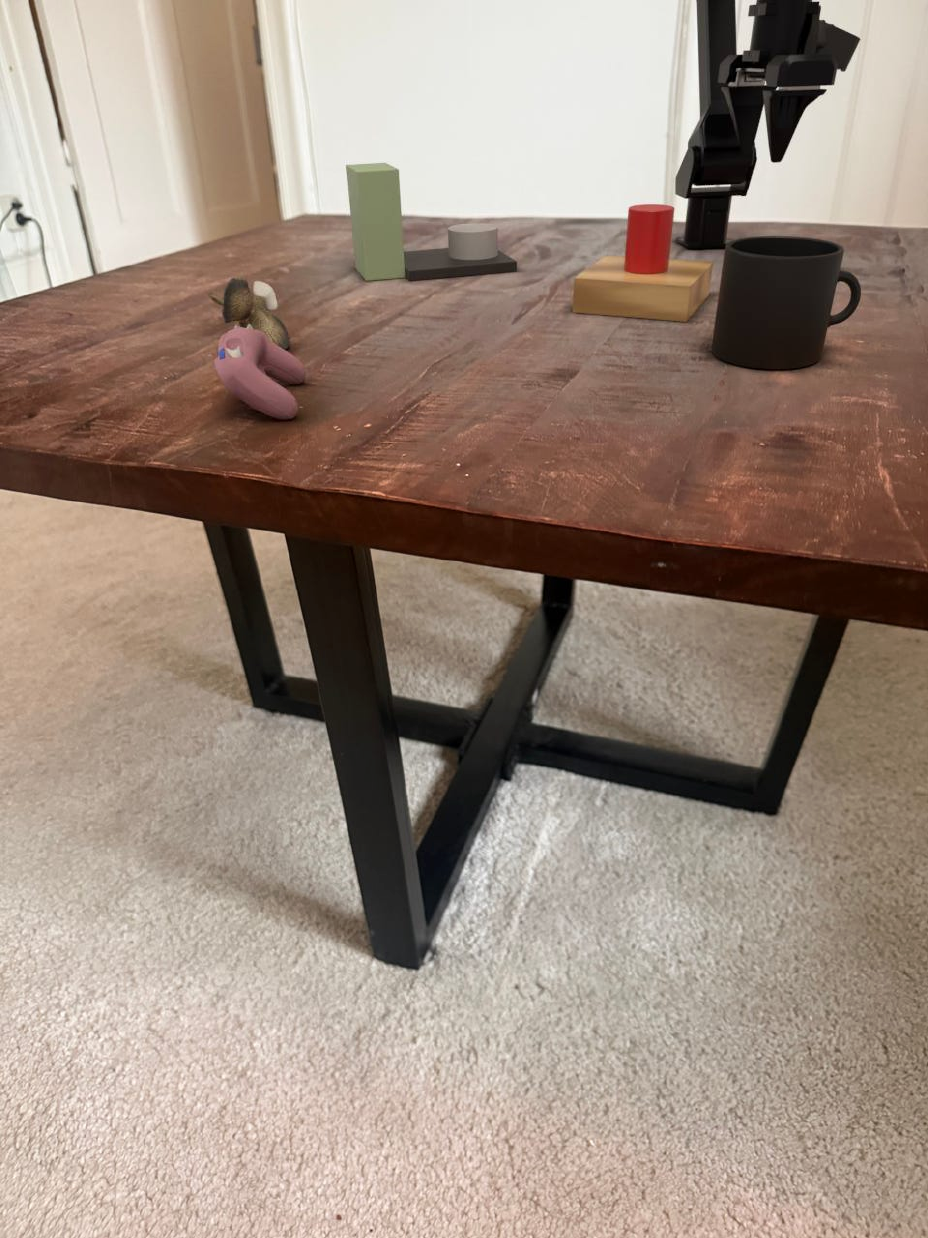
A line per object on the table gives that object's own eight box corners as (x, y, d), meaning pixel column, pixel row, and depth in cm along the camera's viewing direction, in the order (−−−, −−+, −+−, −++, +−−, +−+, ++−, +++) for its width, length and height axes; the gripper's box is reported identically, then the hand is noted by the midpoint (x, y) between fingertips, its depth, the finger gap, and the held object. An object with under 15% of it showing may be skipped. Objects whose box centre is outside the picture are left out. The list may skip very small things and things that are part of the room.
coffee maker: (489, 253, 116) (488, 154, 109) (517, 271, 106) (518, 163, 99) (352, 265, 112) (343, 163, 105) (369, 284, 102) (359, 173, 95)
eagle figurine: (190, 329, 83) (206, 333, 75) (216, 259, 82) (235, 256, 74) (263, 362, 87) (285, 369, 79) (288, 296, 86) (313, 296, 78)
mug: (867, 369, 71) (895, 255, 66) (724, 371, 72) (741, 258, 66) (829, 337, 79) (852, 233, 74) (701, 340, 79) (714, 236, 74)
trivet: (604, 287, 98) (606, 255, 96) (708, 294, 94) (713, 261, 92) (572, 312, 89) (574, 277, 87) (686, 322, 85) (690, 285, 83)
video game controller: (267, 400, 73) (216, 328, 69) (311, 374, 72) (262, 300, 69) (253, 443, 65) (195, 365, 61) (302, 415, 64) (247, 333, 60)
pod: (616, 271, 89) (621, 209, 85) (635, 263, 92) (640, 202, 89) (657, 275, 87) (663, 211, 83) (674, 267, 90) (681, 205, 86)
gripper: (904, -17, 82) (866, 163, 91) (820, -6, 98) (793, 148, 106) (794, -14, 81) (765, 168, 90) (726, -3, 97) (707, 151, 106)
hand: (760, 157), depth 98 cm, fingers open, 9 cm apart
